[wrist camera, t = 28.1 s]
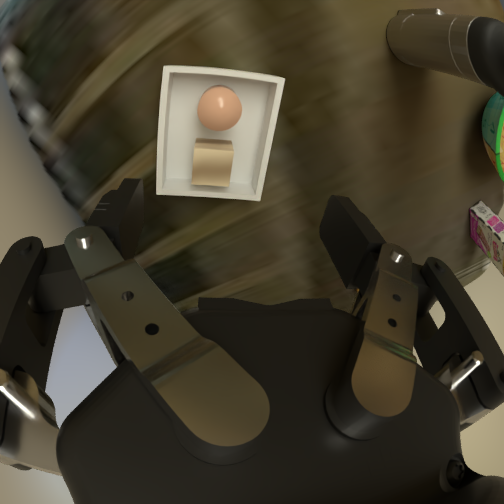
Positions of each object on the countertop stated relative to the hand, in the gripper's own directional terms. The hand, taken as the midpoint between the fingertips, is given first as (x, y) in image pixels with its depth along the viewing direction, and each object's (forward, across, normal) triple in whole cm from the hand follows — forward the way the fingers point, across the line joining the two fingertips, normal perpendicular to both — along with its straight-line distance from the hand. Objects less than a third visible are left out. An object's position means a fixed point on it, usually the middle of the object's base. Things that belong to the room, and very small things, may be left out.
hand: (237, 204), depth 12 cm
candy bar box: (+30, -65, +12) cm, 73 cm away
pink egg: (+29, 0, 0) cm, 29 cm away
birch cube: (+29, 0, +8) cm, 30 cm away
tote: (+30, 0, +4) cm, 30 cm away
